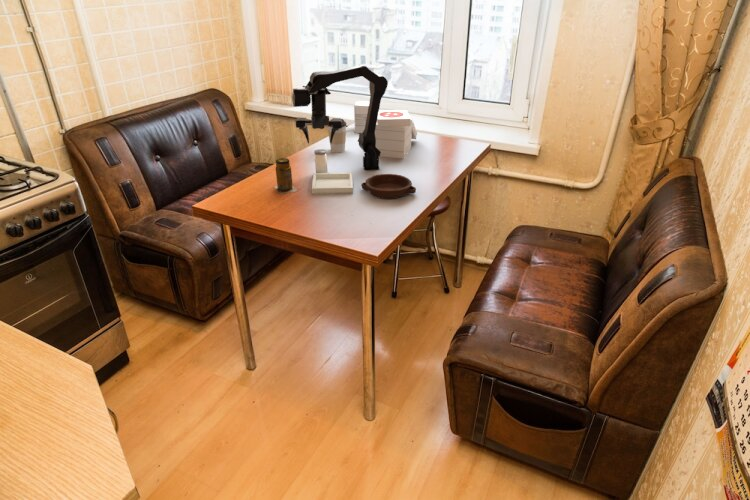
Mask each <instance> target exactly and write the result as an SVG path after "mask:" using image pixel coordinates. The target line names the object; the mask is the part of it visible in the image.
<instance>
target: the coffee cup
mask: <svg viewBox="0 0 750 500" xmlns="http://www.w3.org/2000/svg"><path fill="white" fill-rule="evenodd" d="M332 119H333V118H332ZM332 119H329V121H332ZM341 119H342V118H341ZM327 128H328V131H327V133H328V139H329V141H328V142H330V138H331V130H332V125H327ZM346 136H347V122H346V121H345V120H344V119H342V128H341V129H339V130H336V132H335V134H334V136H333V139H332V143H331V144H330V143H329V145H330V152H332V153H335V154H336V153H337V154H339V153H343V152H345V151H346V141H347V140H346V138H347V137H346Z"/></svg>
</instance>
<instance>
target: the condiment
mask: <svg viewBox="0 0 750 500" xmlns="http://www.w3.org/2000/svg"><path fill="white" fill-rule="evenodd" d="M290 162H291V161H290V159H289V158H287V157H280V158H277V159H276V160H275V176H276V183H277V185H275V186H273V188H274V189H275V190H276V191H277V193H278V194H279V195H281V194H289V193H294V192H298V189H297V188H295V187H294V185H293V176H292V167H291V163H290Z"/></svg>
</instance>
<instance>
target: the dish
mask: <svg viewBox="0 0 750 500" xmlns="http://www.w3.org/2000/svg"><path fill="white" fill-rule="evenodd" d="M361 188H362V190H365V191H367V192H369V193H370V195H372V196H373V197H375V198H378V199H384V200H393V199H398V198H401V197H403V196H405V195H409V194H415V193H416V190H417V189H416V187H414V186H413V183H412V181H411V180H410V179H409V177H406V176H404V175H400V174H396V173H395V174H394V173H381V174H374V175H372V176H369V177H368V178H367V179H365V181H364V182H362V183H361Z"/></svg>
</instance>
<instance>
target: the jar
mask: <svg viewBox="0 0 750 500" xmlns="http://www.w3.org/2000/svg"><path fill="white" fill-rule="evenodd" d="M327 159H328V158H327V150H326V149H324V148H323V149H316V150H314V164H315V165H314V167H315V173H328V161H327Z"/></svg>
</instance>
